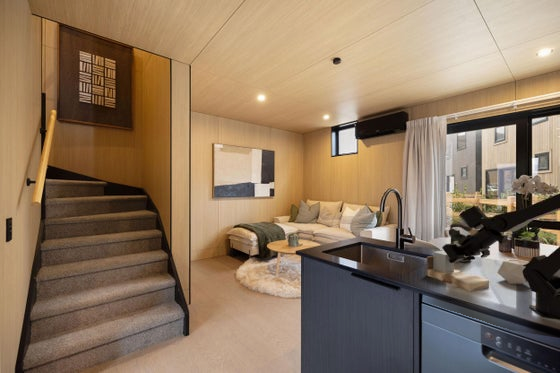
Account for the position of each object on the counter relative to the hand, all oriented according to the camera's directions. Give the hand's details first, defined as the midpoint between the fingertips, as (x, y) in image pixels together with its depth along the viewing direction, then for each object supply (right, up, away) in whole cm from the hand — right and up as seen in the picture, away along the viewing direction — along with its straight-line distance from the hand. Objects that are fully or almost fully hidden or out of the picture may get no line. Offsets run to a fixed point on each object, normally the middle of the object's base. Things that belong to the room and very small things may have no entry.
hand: (450, 262), depth 99 cm
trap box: (+1, -7, -2) cm, 7 cm away
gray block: (-1, -4, +3) cm, 5 cm away
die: (+22, -7, -3) cm, 23 cm away
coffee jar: (+22, -7, +25) cm, 34 cm away
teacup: (+33, -7, +5) cm, 34 cm away
